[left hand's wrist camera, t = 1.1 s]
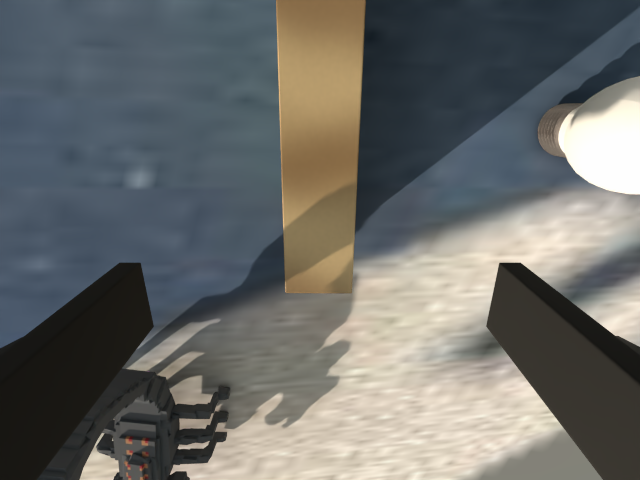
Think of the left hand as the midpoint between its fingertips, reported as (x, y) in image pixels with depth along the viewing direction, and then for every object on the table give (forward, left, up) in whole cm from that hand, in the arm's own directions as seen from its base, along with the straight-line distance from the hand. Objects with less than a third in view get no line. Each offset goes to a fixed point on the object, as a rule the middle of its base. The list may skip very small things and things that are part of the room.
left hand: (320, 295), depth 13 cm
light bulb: (+19, +5, -17) cm, 26 cm away
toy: (-17, -25, -17) cm, 35 cm away
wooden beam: (0, +9, -17) cm, 19 cm away
